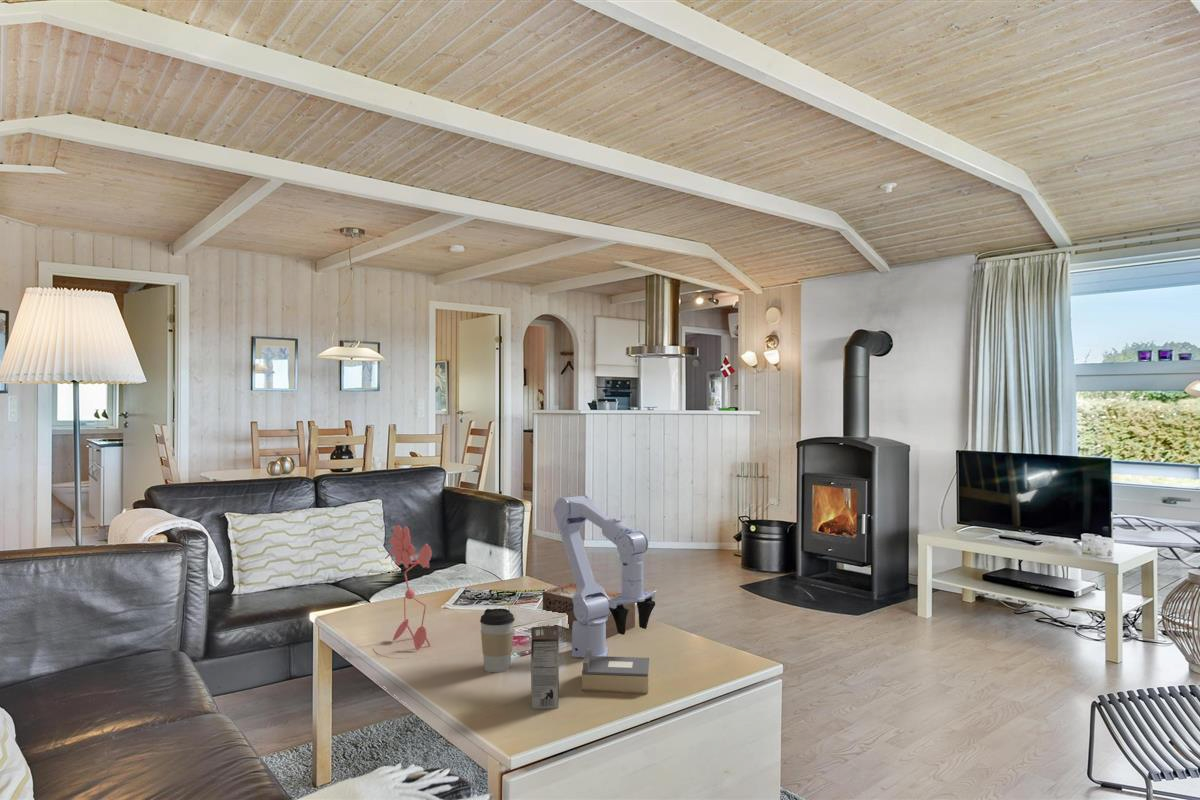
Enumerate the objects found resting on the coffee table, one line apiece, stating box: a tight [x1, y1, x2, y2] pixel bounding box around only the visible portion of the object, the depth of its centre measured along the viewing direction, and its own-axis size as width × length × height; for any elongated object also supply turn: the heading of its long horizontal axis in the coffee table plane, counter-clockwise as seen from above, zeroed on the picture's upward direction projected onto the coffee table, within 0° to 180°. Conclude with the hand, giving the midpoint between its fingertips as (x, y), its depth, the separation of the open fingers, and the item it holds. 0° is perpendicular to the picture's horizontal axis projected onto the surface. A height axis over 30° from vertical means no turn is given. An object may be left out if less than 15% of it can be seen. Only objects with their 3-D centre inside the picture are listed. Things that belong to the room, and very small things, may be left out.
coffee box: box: [530, 626, 560, 710], centre depth 171 cm, size 9×6×16 cm
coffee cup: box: [479, 608, 516, 673], centre depth 193 cm, size 9×9×15 cm
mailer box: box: [581, 670, 650, 694], centre depth 182 cm, size 16×11×4 cm
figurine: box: [384, 524, 432, 651], centre depth 208 cm, size 15×26×35 cm, turn 43°
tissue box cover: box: [542, 582, 636, 640], centre depth 230 cm, size 26×14×10 cm, turn 51°
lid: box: [581, 649, 650, 676], centre depth 182 cm, size 16×11×2 cm
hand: (632, 630), depth 192 cm, fingers open, 7 cm apart
